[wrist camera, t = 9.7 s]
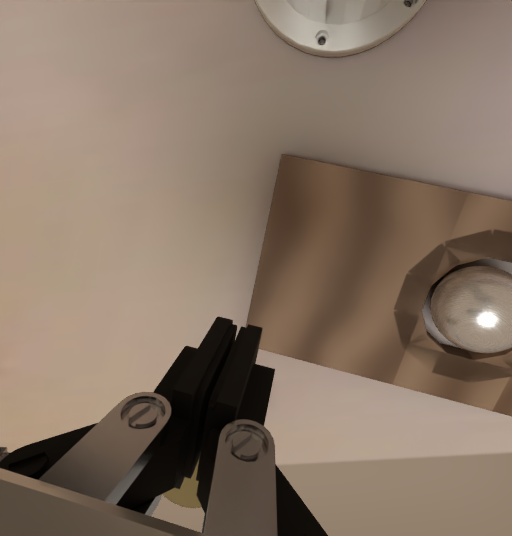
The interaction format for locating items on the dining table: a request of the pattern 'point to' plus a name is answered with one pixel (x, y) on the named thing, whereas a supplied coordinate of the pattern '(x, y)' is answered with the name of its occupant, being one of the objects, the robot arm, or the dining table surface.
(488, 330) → the ball
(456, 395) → the board
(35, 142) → the dining table surface
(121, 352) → the dining table surface
